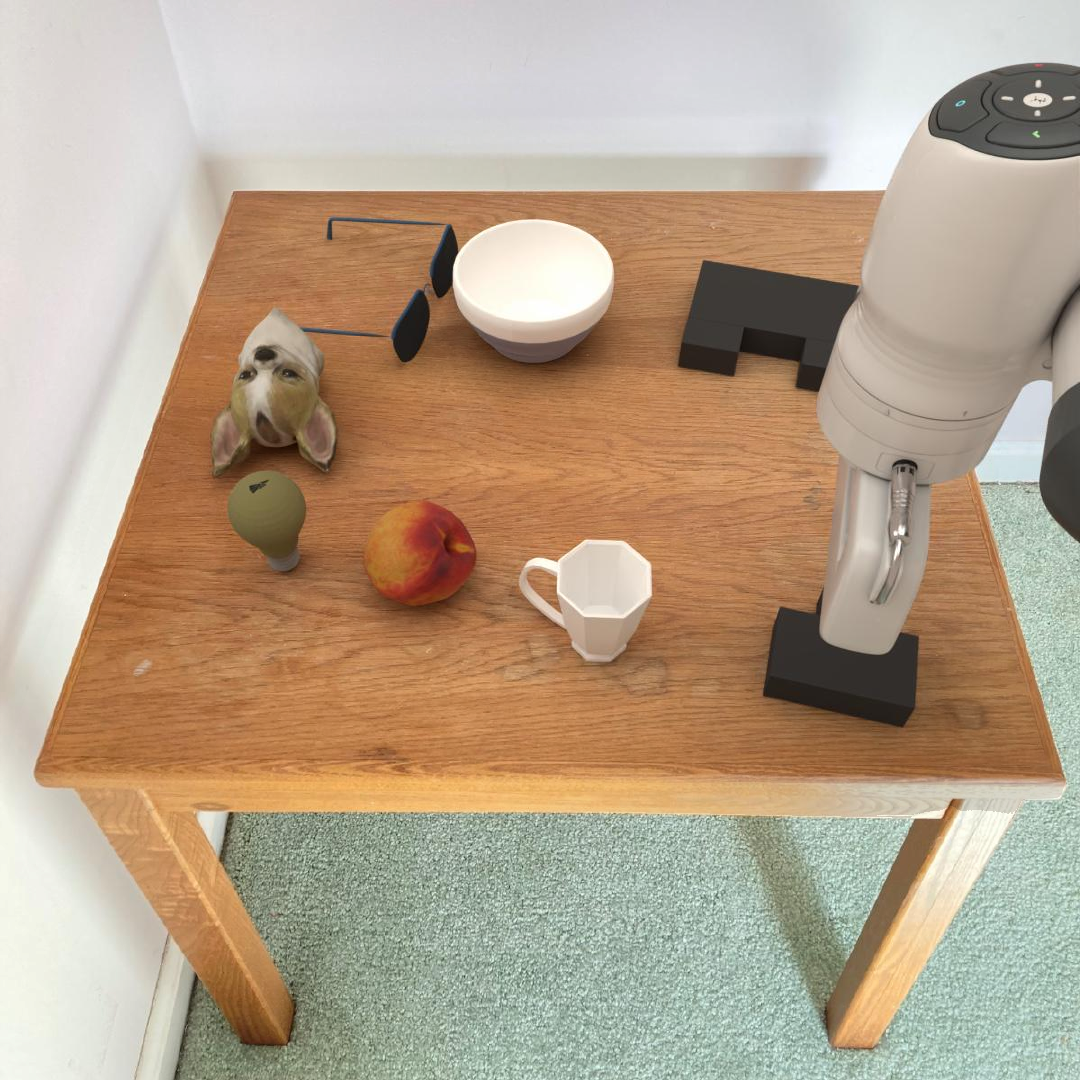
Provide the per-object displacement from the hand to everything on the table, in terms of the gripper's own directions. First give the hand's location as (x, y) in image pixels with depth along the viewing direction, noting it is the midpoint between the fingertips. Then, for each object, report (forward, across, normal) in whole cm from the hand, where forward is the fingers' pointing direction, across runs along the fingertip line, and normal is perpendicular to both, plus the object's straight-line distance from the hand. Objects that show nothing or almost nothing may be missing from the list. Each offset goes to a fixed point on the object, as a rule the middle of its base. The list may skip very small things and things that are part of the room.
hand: (843, 557), depth 62 cm
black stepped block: (+16, +3, -3) cm, 16 cm away
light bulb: (+16, 0, +40) cm, 43 cm away
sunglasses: (+16, +32, +45) cm, 57 cm away
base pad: (+16, +36, +6) cm, 40 cm away
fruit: (+16, +2, +29) cm, 33 cm away
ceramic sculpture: (+16, +14, +46) cm, 51 cm away
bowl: (+16, +32, +28) cm, 45 cm away
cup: (+16, 0, +16) cm, 23 cm away
